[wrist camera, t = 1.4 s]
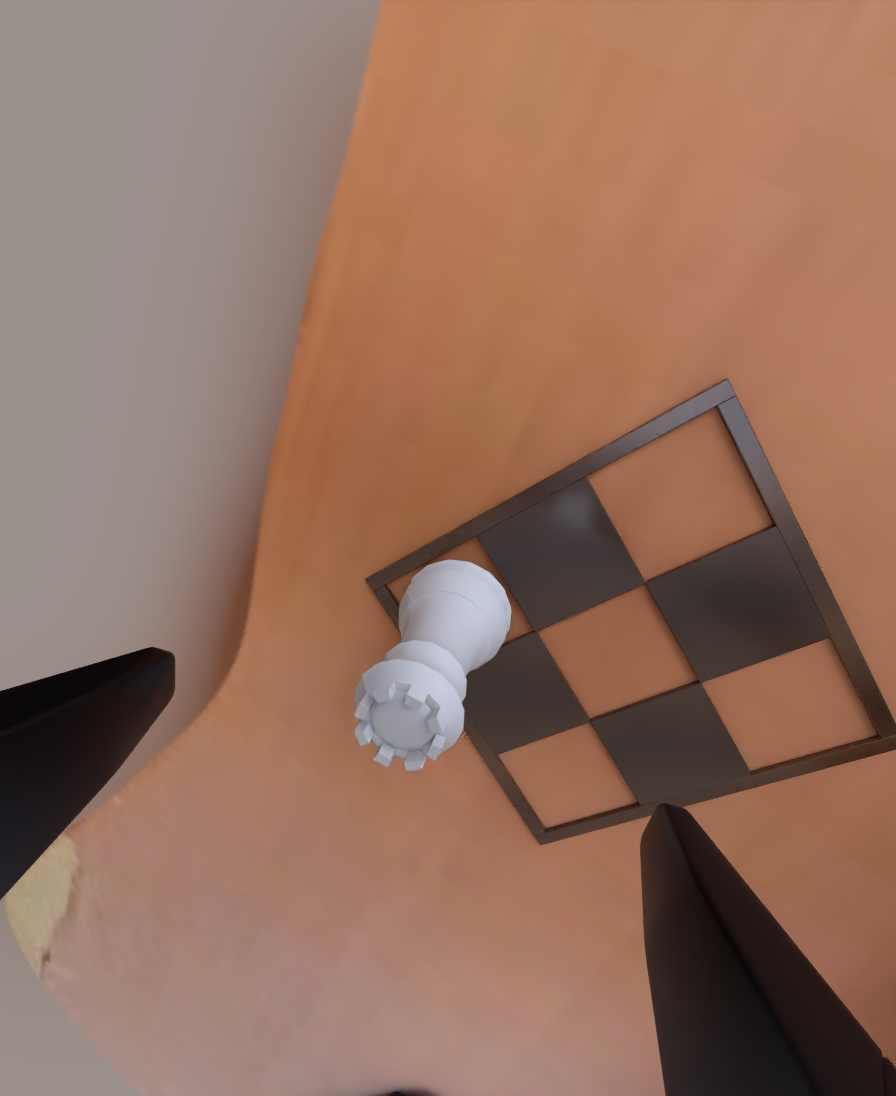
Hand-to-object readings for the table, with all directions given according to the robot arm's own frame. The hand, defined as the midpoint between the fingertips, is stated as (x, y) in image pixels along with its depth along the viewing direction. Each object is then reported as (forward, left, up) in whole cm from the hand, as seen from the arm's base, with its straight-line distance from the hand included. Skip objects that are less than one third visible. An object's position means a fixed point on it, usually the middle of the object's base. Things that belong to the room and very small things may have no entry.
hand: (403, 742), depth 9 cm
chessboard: (-6, -2, -12) cm, 13 cm away
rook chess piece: (-2, +3, -12) cm, 12 cm away
